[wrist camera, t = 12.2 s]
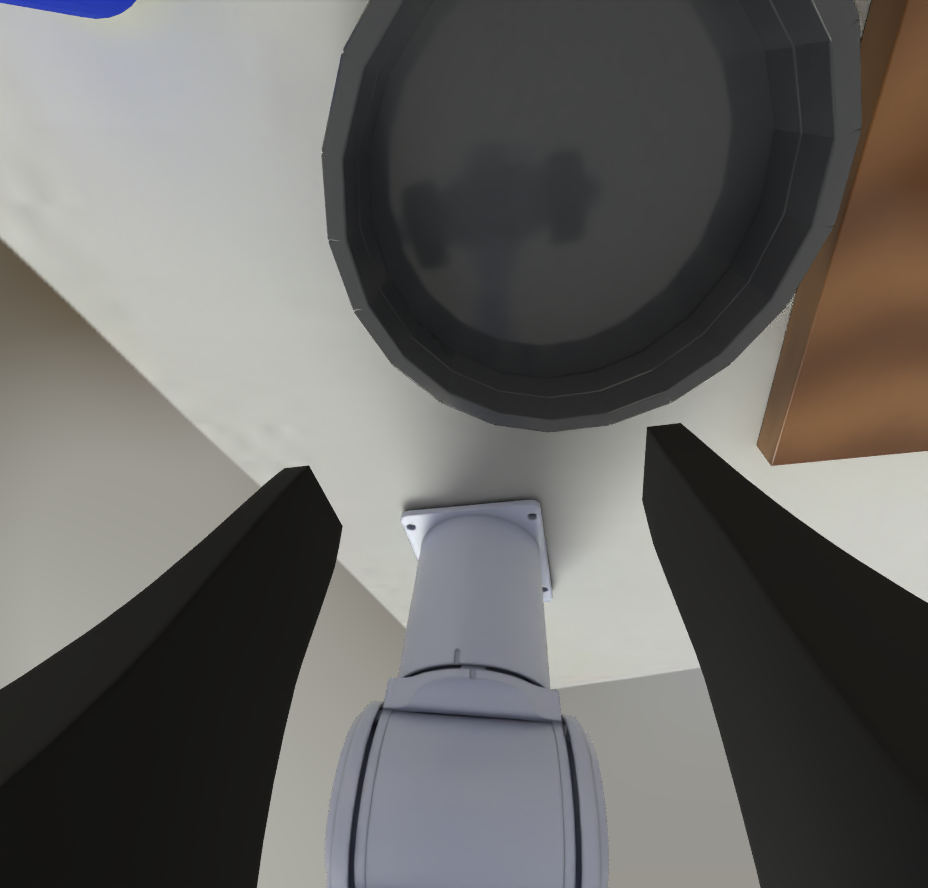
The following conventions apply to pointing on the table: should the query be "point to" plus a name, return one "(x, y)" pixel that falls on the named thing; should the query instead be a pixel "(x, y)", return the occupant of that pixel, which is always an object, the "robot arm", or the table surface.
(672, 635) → the table surface
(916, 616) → the robot arm
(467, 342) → the pan
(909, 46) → the chopping board
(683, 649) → the table surface
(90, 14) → the beverage can
